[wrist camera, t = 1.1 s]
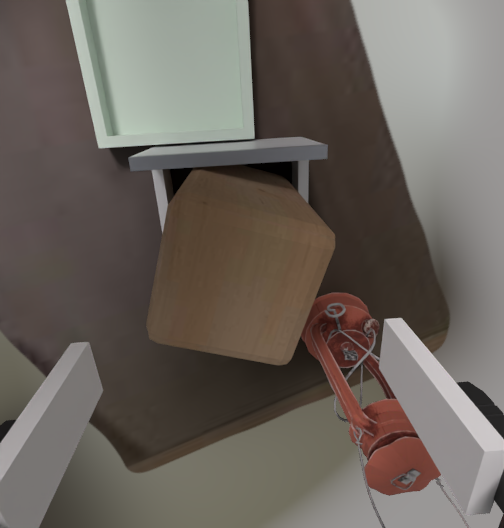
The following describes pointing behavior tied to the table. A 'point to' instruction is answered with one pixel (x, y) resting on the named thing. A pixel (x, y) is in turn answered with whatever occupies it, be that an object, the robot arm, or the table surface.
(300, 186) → the dock
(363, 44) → the table surface
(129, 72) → the tray
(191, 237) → the wooden block
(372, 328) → the lantern
